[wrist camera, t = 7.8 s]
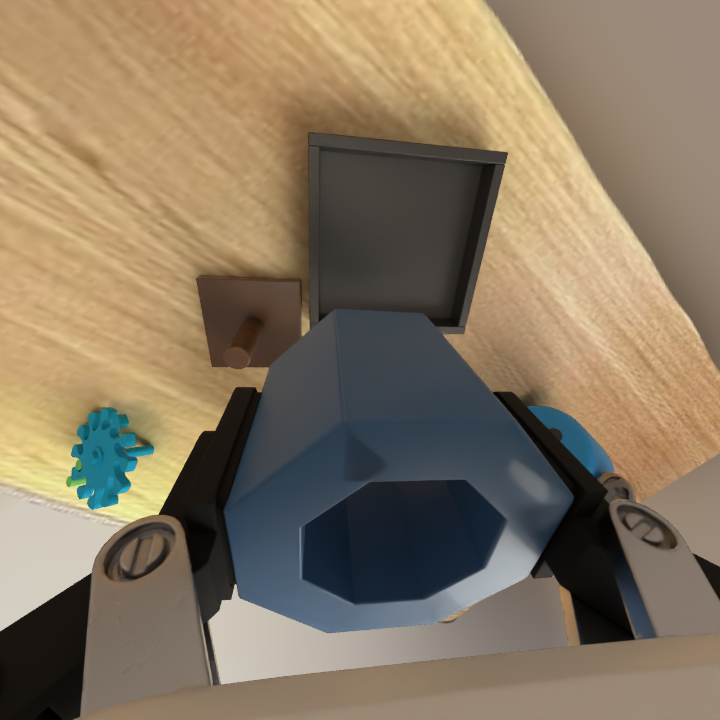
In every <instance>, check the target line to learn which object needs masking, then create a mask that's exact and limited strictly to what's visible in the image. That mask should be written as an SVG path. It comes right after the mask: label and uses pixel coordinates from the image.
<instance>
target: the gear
mask: <svg viewBox="0 0 720 720" xmlns="http://www.w3.org/2000/svg"><path fill="white" fill-rule="evenodd" d="M112 420H113V421H112ZM88 421H89V424H86V425H81V426H80V427H79V428H78V430H77V434H78V436H79V437H80V438H81V440H82V444H78V445H74V446H73V448H72V452H71V456H72V457H77V458H78V459H79V460H78V461H77V462H76V467H73V468H72V476H70V477H68V478H67V481H66V483H67V486H68V487H71V486H75V485H80V484H85V483H86V485H83V486H79V487H78V488H77V494H78V497H79V499H84V498H88V497H90V498H89V499H88V502H87V504H88V506H89V507H90V508H91V509H92V510H94V509H97V508H101V507H107V506H111V505H114V504H118V495H117V494H120V493H124V492H126V491H128V489H129V488H130V487H131V483H130V481H129V480H128V479H127V477H126V476H125V473H124V472H129V471H134V469H135V467H136V464H137V458H136V457H137V456H143V455H149V454H153V452H154V447H153V446H152V445H149V446H142V447H135V448H128V449H125V447H131V446H135V444H136V434H135V433H126V434H123V435H122V436H121V437H120V436H119V429H120V428H125V427H127V426H128V425H129V420H128V418H127V416H126V414H125V415H117V411H116V410H115V409H114V408H102V410H101V412H92V413H89V414H88ZM111 421H112V423H111ZM110 423H111V425H110ZM93 491H94V494H93V496H92V493H93Z"/></svg>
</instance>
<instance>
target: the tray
mask: <svg viewBox="0 0 720 720" xmlns="http://www.w3.org/2000/svg"><path fill="white" fill-rule="evenodd" d="M308 144H309V277H310V330H311V329H312V328H313V327H314V326H315V325H317V324H318V323H319V322H320V321H321V320H322V319H324V318H325V317H326V316H327V315H328V314H329V313H330V312H332V311H333V310H335V309H351V310H371V311H391V312H411V313H423V314H424V315H426V316H427V317H428V318H429V320H430V321H431V322H432V323H433V324H434V325H435V327H436V328H437V329H438V330H439V331H440V332H441V334H464V331H465V326H466V323H467V319H468V314H469V310H470V306H471V302H472V298H473V294H474V290H475V286H476V282H477V278H478V273H479V269H480V265H481V261H482V257H483V253H484V249H485V245H486V241H487V237H488V232H489V228H490V224H491V220H492V216H493V212H494V208H495V204H496V200H497V196H498V191H499V187H500V183H501V179H502V175H503V171H504V167H505V165H504V164H505V163H506V159H507V155H508V153H507V152H499V151H489V150H480V149H470V148H460V147H451V146H441V145H431V144H421V143H412V142H402V141H392V140H383V139H373V138H363V137H354V136H344V135H334V134H325V133H315V132H309V133H308Z"/></svg>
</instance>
